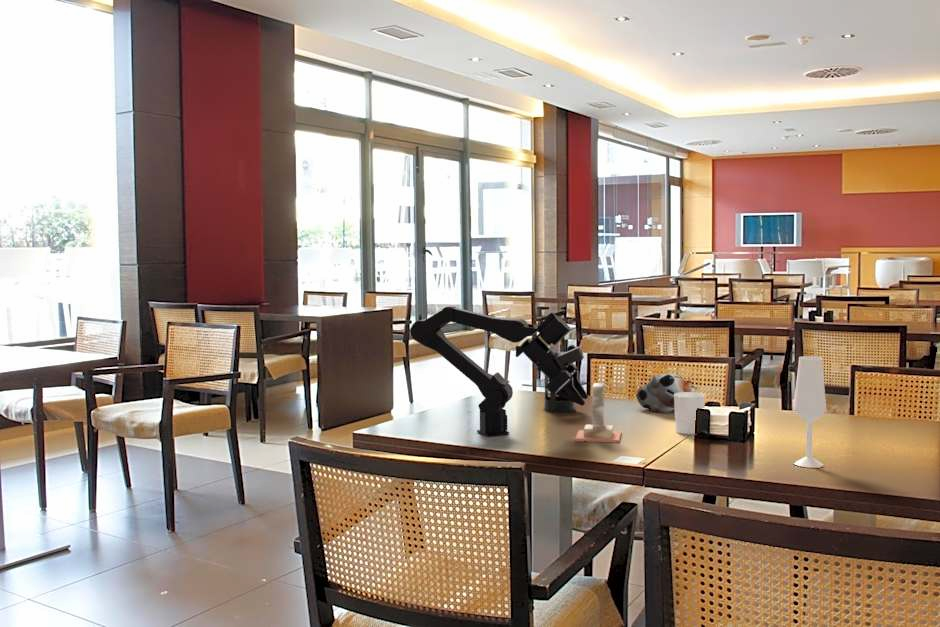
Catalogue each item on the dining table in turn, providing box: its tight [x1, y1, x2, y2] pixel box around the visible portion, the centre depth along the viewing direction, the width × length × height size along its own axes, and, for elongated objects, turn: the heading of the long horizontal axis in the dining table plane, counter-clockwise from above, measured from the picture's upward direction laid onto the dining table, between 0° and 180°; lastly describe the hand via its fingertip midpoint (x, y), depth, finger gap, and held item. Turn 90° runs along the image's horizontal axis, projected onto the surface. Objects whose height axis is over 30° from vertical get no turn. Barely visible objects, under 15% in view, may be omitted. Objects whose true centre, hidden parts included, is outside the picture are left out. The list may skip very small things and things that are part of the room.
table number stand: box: [583, 382, 614, 438], centre depth 227 cm, size 7×6×13 cm
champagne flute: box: [793, 355, 827, 467], centre depth 196 cm, size 7×7×24 cm
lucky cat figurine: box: [635, 373, 697, 414], centre depth 262 cm, size 15×12×14 cm
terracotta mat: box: [574, 429, 622, 444], centre depth 228 cm, size 11×11×1 cm
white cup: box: [674, 391, 706, 436], centre depth 232 cm, size 8×8×10 cm
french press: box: [543, 340, 581, 413], centre depth 266 cm, size 12×9×23 cm
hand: (585, 401), depth 228 cm, fingers open, 9 cm apart
